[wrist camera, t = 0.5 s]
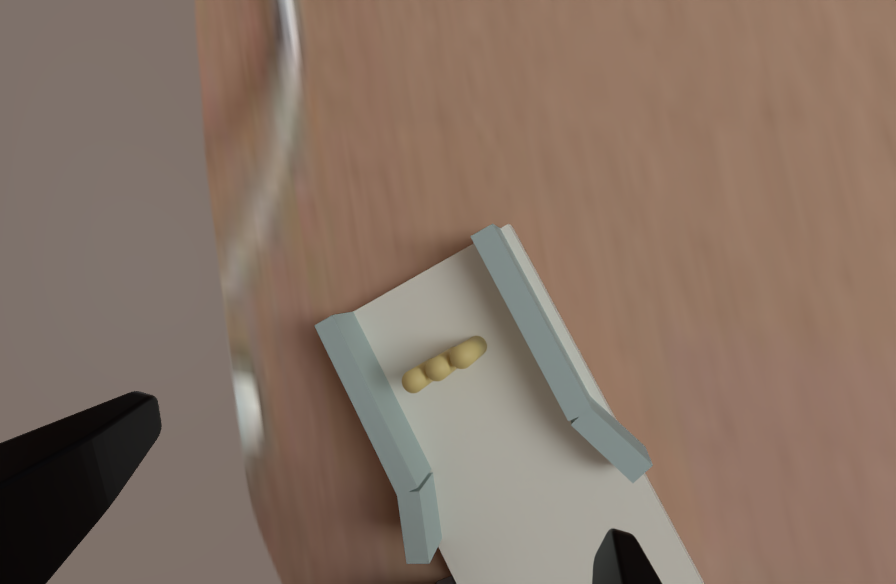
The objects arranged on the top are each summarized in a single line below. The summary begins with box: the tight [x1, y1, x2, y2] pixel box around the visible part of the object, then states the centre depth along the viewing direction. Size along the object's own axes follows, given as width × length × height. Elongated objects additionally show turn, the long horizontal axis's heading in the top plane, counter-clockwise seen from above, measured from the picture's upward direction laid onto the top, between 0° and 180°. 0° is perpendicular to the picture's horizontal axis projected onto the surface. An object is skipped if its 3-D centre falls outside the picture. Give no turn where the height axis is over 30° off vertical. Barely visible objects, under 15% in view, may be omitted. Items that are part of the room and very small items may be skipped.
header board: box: [314, 224, 705, 584], centre depth 20 cm, size 18×11×4 cm, turn 29°
